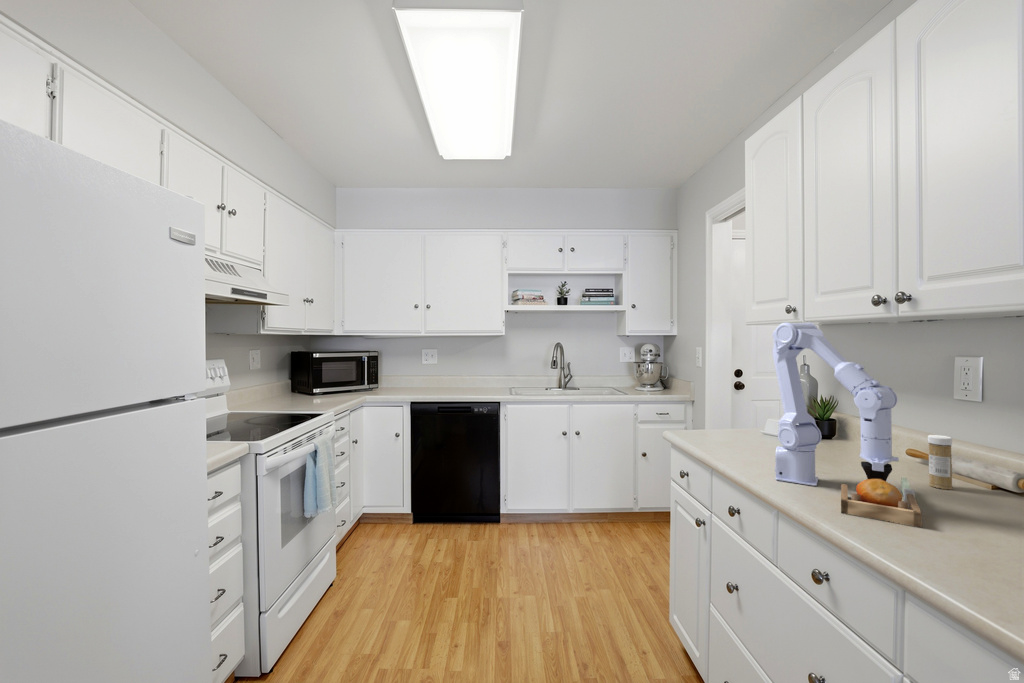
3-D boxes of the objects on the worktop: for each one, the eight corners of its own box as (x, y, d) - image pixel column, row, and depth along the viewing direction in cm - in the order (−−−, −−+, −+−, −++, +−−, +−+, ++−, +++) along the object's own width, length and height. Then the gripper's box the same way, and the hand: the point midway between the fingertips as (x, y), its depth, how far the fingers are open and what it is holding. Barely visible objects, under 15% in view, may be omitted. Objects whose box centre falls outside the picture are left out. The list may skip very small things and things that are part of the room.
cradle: (841, 513, 99) (840, 495, 99) (841, 495, 110) (841, 479, 110) (921, 527, 91) (921, 508, 91) (913, 507, 101) (913, 490, 101)
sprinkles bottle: (954, 487, 114) (954, 436, 114) (950, 491, 112) (949, 438, 112) (931, 483, 118) (930, 433, 118) (926, 486, 115) (925, 435, 115)
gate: (915, 506, 101) (915, 492, 101) (904, 504, 103) (904, 490, 103) (909, 490, 112) (908, 477, 112) (898, 489, 113) (898, 476, 113)
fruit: (887, 497, 104) (895, 473, 100) (902, 526, 98) (911, 502, 94) (846, 494, 107) (853, 471, 103) (858, 521, 100) (866, 498, 96)
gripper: (901, 445, 96) (902, 507, 96) (895, 433, 107) (895, 488, 107) (860, 441, 100) (861, 500, 100) (858, 430, 111) (859, 483, 111)
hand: (876, 494), depth 104 cm, fingers closed
